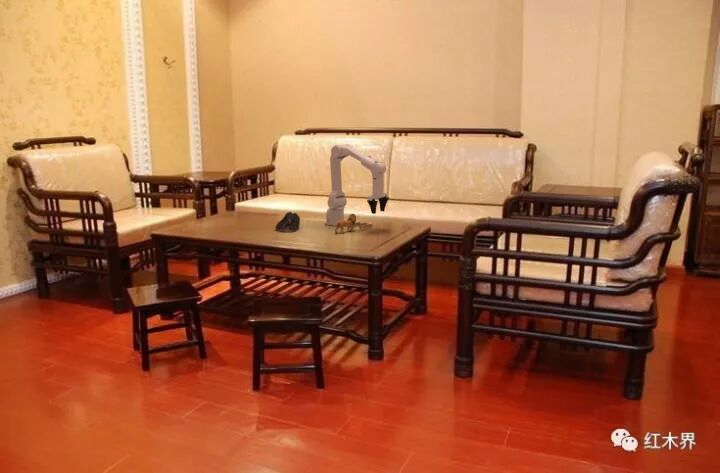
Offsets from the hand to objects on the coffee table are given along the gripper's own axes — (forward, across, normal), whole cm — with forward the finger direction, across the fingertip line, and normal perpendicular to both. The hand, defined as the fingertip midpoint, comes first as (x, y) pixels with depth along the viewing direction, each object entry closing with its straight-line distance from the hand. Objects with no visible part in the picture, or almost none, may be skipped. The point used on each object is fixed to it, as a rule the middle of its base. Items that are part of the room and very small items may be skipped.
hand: (378, 212), depth 301 cm
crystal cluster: (+10, -25, +41) cm, 49 cm away
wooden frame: (+10, 0, +13) cm, 16 cm away
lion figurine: (+10, -11, +13) cm, 20 cm away
